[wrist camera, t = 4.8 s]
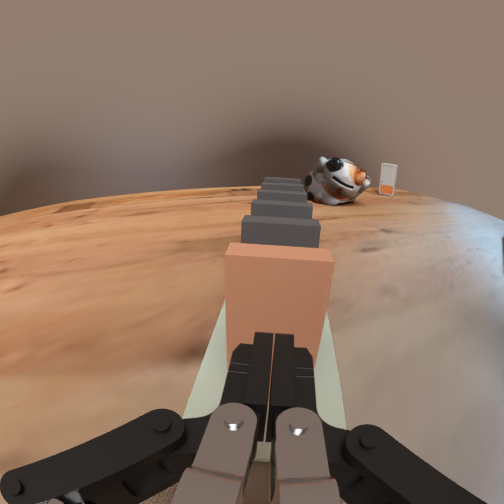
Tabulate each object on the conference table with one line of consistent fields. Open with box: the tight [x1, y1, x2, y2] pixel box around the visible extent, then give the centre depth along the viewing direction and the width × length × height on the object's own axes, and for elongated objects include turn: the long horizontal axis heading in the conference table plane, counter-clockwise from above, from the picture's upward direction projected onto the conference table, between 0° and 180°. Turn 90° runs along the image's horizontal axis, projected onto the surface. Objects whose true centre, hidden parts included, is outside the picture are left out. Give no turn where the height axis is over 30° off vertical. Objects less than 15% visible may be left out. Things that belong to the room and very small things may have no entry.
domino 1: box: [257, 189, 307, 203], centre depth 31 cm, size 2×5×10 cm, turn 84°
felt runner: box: [182, 301, 347, 462], centre depth 30 cm, size 38×10×1 cm, turn 174°
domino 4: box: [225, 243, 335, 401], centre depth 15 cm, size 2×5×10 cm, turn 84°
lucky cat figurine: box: [304, 157, 371, 206], centre depth 74 cm, size 17×14×16 cm
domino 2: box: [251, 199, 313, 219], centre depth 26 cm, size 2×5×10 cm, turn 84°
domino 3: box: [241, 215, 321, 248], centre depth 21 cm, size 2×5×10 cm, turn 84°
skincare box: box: [379, 163, 398, 196], centre depth 97 cm, size 6×4×12 cm
